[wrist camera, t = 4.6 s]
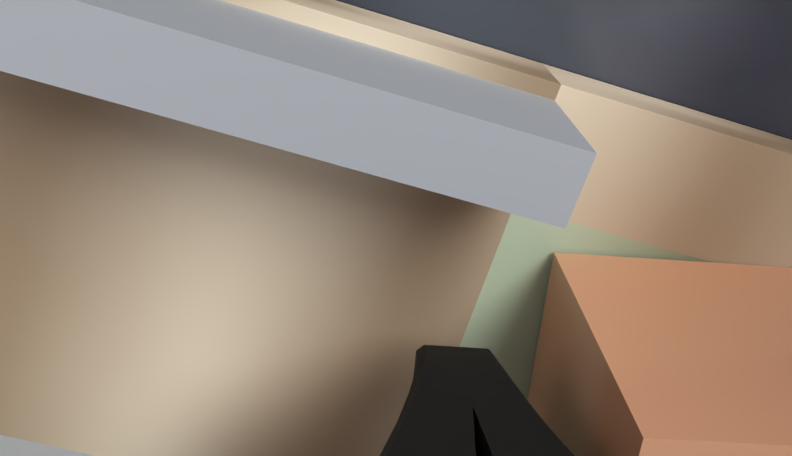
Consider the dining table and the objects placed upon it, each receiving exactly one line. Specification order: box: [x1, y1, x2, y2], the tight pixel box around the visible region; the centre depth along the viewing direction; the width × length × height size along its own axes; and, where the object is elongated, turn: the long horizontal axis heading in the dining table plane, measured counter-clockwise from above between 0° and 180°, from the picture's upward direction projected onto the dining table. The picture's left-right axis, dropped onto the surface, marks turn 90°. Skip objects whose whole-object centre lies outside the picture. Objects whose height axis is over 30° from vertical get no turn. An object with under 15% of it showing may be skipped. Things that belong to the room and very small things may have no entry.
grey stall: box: [0, 0, 597, 456], centre depth 11 cm, size 13×10×2 cm
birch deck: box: [0, 0, 792, 456], centre depth 14 cm, size 22×14×2 cm
